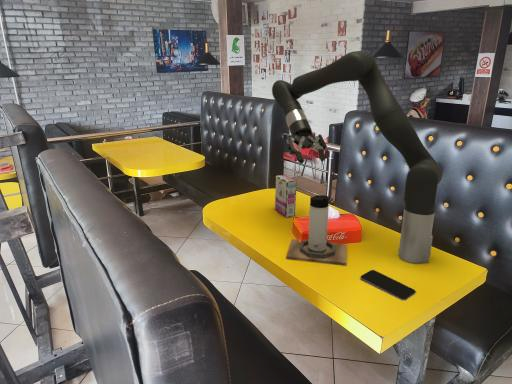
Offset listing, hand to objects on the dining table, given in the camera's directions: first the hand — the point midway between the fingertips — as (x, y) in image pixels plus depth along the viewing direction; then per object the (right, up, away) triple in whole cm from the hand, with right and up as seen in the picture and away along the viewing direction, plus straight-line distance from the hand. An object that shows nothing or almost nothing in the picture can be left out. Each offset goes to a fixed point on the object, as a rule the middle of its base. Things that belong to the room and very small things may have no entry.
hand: (313, 161), depth 131 cm
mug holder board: (+1, -32, -1) cm, 32 cm away
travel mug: (+1, -31, -1) cm, 31 cm away
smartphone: (+19, -39, -20) cm, 48 cm away
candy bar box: (-7, -21, +35) cm, 42 cm away
